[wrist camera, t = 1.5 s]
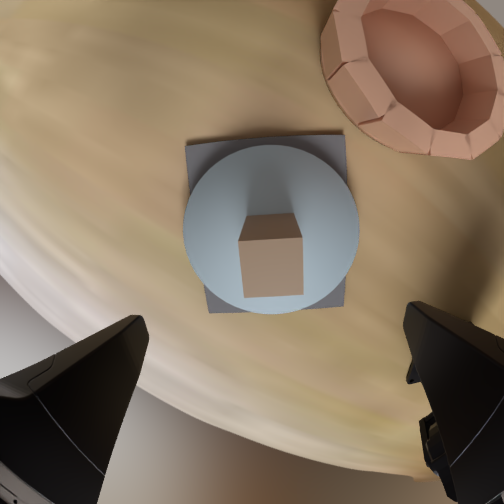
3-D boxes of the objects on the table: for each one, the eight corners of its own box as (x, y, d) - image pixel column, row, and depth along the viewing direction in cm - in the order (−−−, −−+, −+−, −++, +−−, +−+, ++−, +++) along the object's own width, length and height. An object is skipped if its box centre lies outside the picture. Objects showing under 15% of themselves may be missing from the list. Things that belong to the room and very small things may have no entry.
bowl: (472, 159, 16) (515, 167, 11) (329, 150, 17) (350, 151, 12) (451, 20, 11) (485, 2, 7) (308, -8, 12) (318, -46, 8)
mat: (342, 303, 20) (343, 306, 20) (209, 310, 21) (209, 313, 21) (343, 135, 16) (344, 135, 16) (186, 146, 17) (184, 146, 17)
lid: (350, 299, 20) (373, 351, 14) (201, 307, 21) (180, 360, 15) (352, 142, 16) (390, 141, 10) (178, 154, 17) (137, 159, 11)
